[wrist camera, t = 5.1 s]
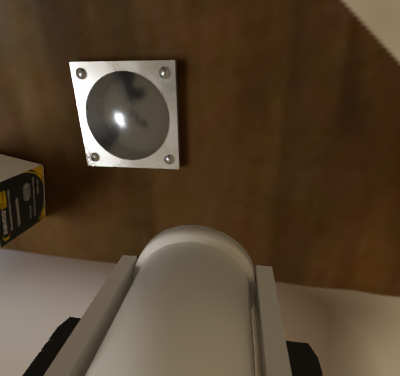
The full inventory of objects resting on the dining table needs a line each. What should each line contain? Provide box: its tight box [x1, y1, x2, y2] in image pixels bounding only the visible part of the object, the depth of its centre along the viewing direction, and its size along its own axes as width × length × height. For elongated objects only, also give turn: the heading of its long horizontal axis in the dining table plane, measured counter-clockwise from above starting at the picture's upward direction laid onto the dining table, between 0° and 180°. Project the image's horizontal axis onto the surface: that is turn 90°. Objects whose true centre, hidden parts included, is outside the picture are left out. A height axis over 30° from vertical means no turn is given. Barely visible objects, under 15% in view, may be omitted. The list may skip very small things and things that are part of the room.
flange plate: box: [69, 60, 181, 169], centre depth 25 cm, size 10×10×1 cm
